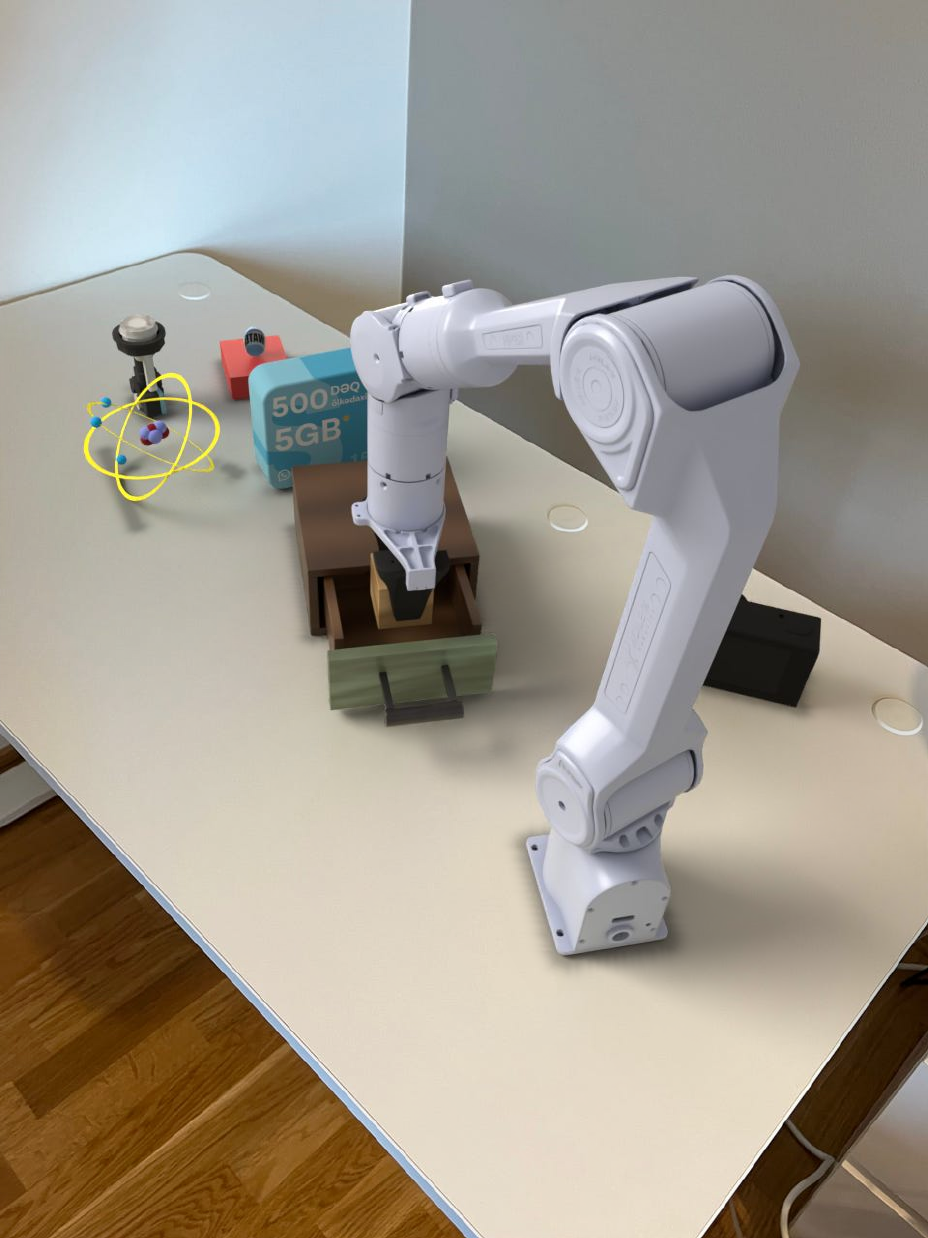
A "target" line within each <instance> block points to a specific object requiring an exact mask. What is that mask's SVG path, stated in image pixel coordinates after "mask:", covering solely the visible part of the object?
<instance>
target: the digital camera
mask: <svg viewBox="0 0 928 1238" xmlns="http://www.w3.org/2000/svg"><path fill="white" fill-rule="evenodd" d="M821 629H822V618H821V617H819V616H815V615H811V614H807V613H802V612H797V611H793V610H789V609H785V608H781V607H775V606H771V605H768V604H762V603H758V602H755V601H750V600H749V599H748V598H747V597H746V596H745V595H744V594H743V593H742V595H741V597H740V599H739V602H738V604H737V606H736V609H735V611H734V613H733V616H732V618H731V620H730V622H729V625H728V627H727V629H726V632H725V634H724V636H723V639H722V641H721V643H720V646H719V648H718V650H717V653H716V655H715V657H714V660H713V662H712V664H711V667H710V669H709V671H708V674H707V676H706V678H705V680H704V683H703V685H702V686H704V687H705V686H706V687H710V688H714V689H717V690H722V691H726V692H730V693H734V694H738V695H743V696H746V697H750V698H754V699H759V700H763V701H768V702H771V703H775V704H780V705H784V706H788V707H791V708H797V706H798V704H799V701H800V699H801V697H802V695H803V692H804V690H805V687H806V685H807V683H808V681H809V678H810V676H811V675H812V672H813V669H814V666H815V665H816V663H817V660H818V657H819V655H820V651H821V633H822V632H821V631H822V630H821Z"/></svg>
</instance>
